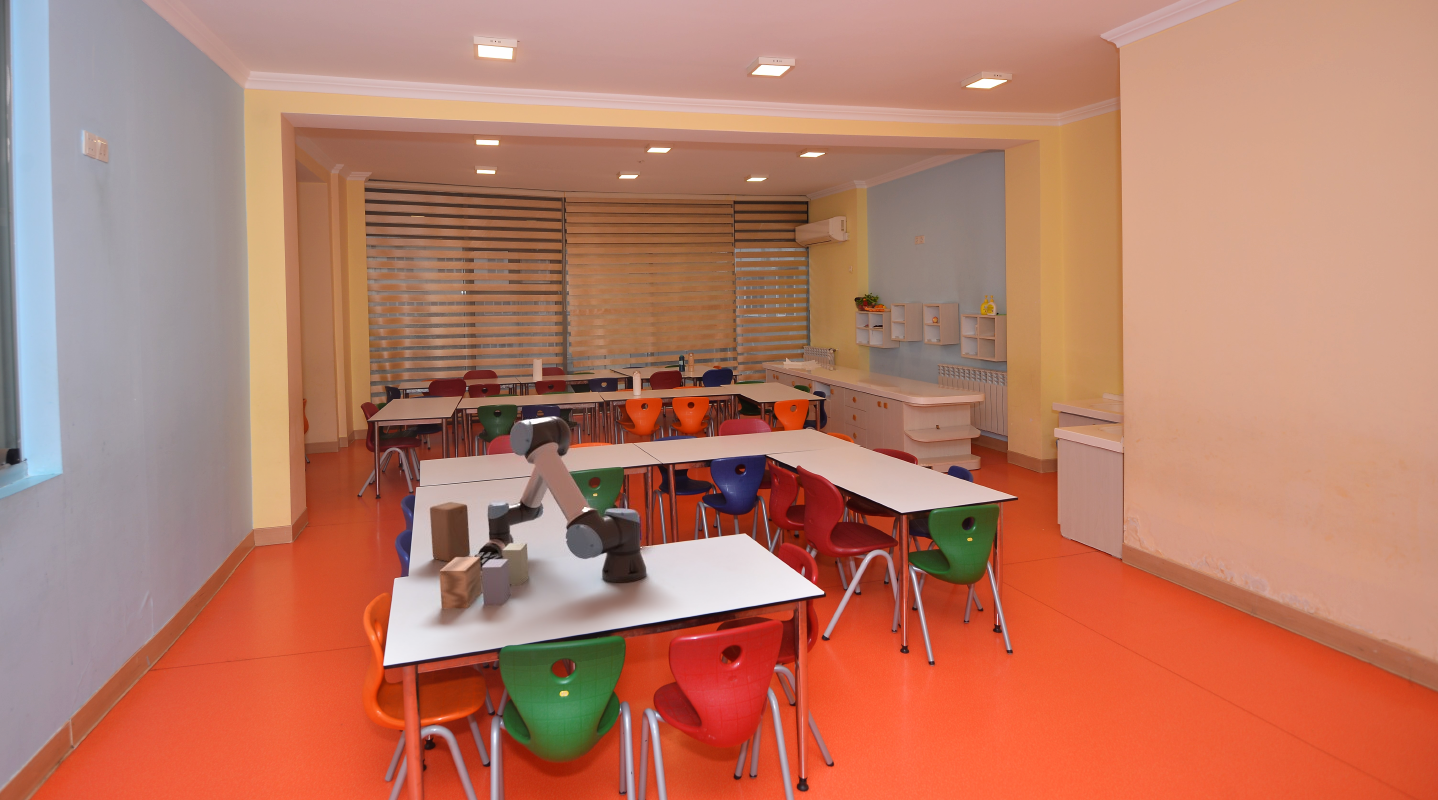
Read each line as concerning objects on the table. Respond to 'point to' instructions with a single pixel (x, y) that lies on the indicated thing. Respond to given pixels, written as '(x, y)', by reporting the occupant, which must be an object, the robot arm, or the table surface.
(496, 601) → the lavender block
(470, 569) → the oak block
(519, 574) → the beige block
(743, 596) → the table surface
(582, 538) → the robot arm
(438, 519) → the wooden block
